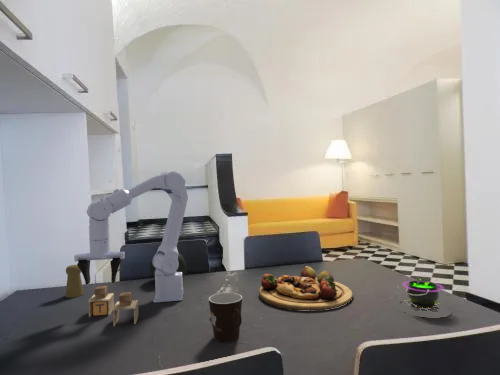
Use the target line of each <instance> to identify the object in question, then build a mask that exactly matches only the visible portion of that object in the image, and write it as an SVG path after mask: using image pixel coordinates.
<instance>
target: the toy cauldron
mask: <svg viewBox="0 0 500 375" xmlns="http://www.w3.org/2000/svg"><path fill="white" fill-rule="evenodd" d="M416 272H417V273H416ZM421 272H424V271H422V270H421ZM414 273H415V274H416V275H419V273H418V271H414ZM412 276H413V274H412V275H409V276H408V277H407V278H408V279H409V280H407V281H404V282H402V283H401V284H402V286H403V287H404V288H406V290H405V291H406V294H407V297H408V299H407V301H408V302H406V303H407V304H408V305H407V306H408V307H411V308H412V309H413V310H415V311H419V310H420V309H419V308H422V307H423V308H428V307H429V308H431V309H428V310H430V311H432V312H438V310H437V309H440V308H438V307H433V306H438V305H437V304H436V303H438V301H439V298H440V291H443V290H445V287H444V286H443V285H441V284H439V283H436V282H437V281H438V279H437V278H436V277H434V276H433V278H435V280H434V281H428V280H422V279H421V278H419V280H416V279H413V280H411V278H410V277H412ZM420 276H427V277H429V279H431V277H432V276H430V275H429V276H428V274H425V273H424V274H421V273H420ZM407 284H408V285H407ZM410 302H412V303H413V304H415V305H417V307H415V306H414V305H413V304H411V303H410ZM434 308H435V309H434ZM421 310H422V311H427V310H425V309H421Z"/></svg>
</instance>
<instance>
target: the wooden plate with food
mask: <svg viewBox="0 0 500 375" xmlns="http://www.w3.org/2000/svg"><path fill="white" fill-rule="evenodd" d="M260 280H261V281H260V287H259V289H258V294H259V295H258V296H259V297H260V299H262V301H263V302H265V303H267V304H268V305H270V306H272V305H273V306H272V307H275V306H276V308H278V307H279V309H282V308H284V309H283V310H286V309H291V310H290V311H292V310H310V311H311V310H325V309H331V308H335V307H339V306H341V305H344V304H346V303H348V302H349V301H351V299H352V298H354V294H353V292H352V290H351V289H350V287H348V286H346V285H345V284H343V283H340V282H337V281H335V279H334V277H333V275H332V273H330V272H329V271H327V270H323V271H322V272H321V271H320V273H319V274H318V275H317V273H316V271H315V270H314V269H313V268H312V267H311V266H309V265H307V266H304V267H303V268H302V269H301V272H300V276H298V275H294V276H293V275H292V276H290V275H288V274H287V275H285V274H283V275H281V276H280V277H278V278H277V277H276V276H274V275H273V274H270V273H265V274H263V275H262V278H261V279H260ZM352 300H353V299H352ZM351 302H352V301H351Z"/></svg>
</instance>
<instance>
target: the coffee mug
mask: <svg viewBox="0 0 500 375" xmlns="http://www.w3.org/2000/svg"><path fill="white" fill-rule="evenodd" d="M242 304H243V295H241V294H239V293H219V294H216V293H215V294H212V295H210V296H209V297H208V305H209V311H210V317H211V318H210V319H211V323H212V324H211V325H212V326H211V327H212V332H213V338H214V340H215V341H217V342H219V343H231V342H235V341H236V339H237V340H238V338H239V337H240V327H241V326H242V322H243V321H242V315H241V314H242Z"/></svg>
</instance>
